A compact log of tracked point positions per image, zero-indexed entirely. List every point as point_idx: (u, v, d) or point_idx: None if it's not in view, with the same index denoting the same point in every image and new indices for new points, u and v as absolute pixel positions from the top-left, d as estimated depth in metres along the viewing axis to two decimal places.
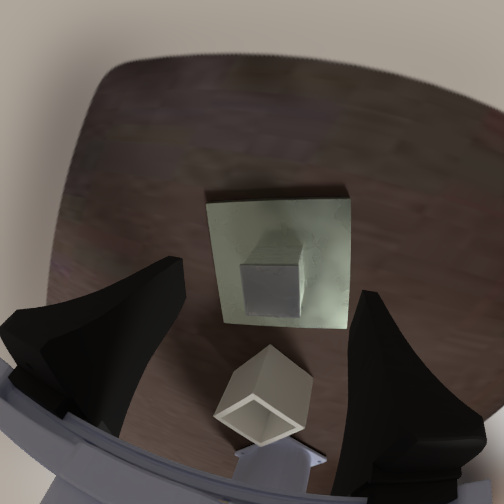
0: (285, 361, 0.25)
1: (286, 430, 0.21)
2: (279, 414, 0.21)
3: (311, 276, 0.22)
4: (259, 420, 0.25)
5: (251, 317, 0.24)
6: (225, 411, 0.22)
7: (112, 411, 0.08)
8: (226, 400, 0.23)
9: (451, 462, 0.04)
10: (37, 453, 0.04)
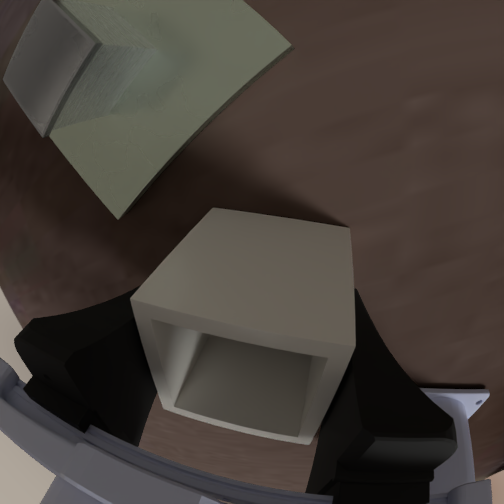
0: (256, 220, 0.11)
1: (318, 380, 0.07)
2: (241, 335, 0.07)
3: (149, 22, 0.08)
4: (285, 383, 0.11)
5: (134, 172, 0.11)
6: (159, 386, 0.09)
7: (133, 420, 0.08)
8: None
9: (420, 464, 0.04)
10: (37, 453, 0.04)
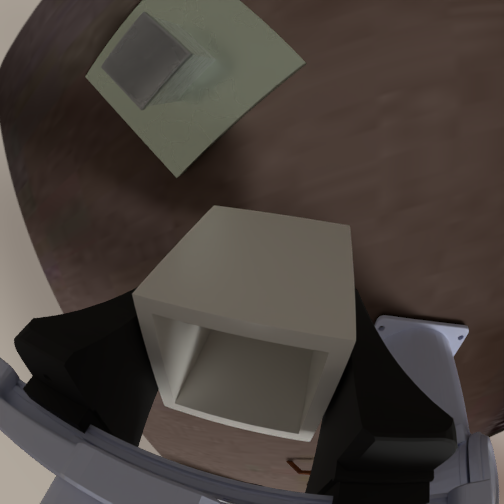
0: (257, 217, 0.11)
1: (319, 376, 0.07)
2: (243, 329, 0.07)
3: (209, 39, 0.13)
4: (286, 380, 0.11)
5: (194, 142, 0.16)
6: (160, 383, 0.09)
7: (133, 420, 0.08)
8: None
9: (420, 464, 0.04)
10: (37, 453, 0.04)
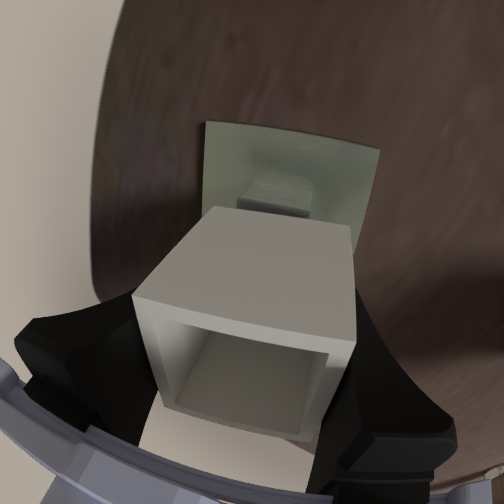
0: (257, 218, 0.11)
1: (319, 377, 0.07)
2: (243, 331, 0.07)
3: (294, 179, 0.17)
4: (286, 381, 0.11)
5: None
6: (160, 384, 0.09)
7: (133, 420, 0.08)
8: None
9: (420, 464, 0.04)
10: (37, 453, 0.04)
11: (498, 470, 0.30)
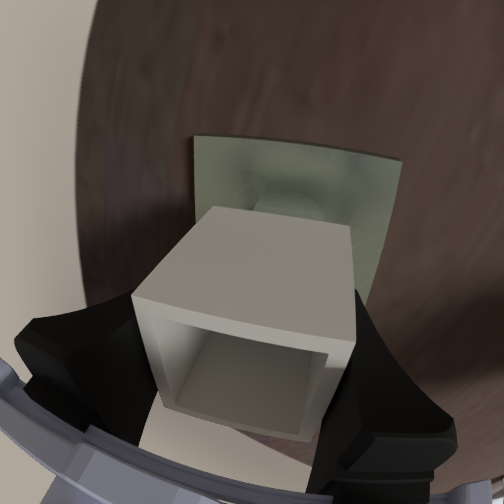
0: (257, 218, 0.11)
1: (319, 377, 0.07)
2: (242, 330, 0.07)
3: (301, 200, 0.14)
4: (286, 381, 0.11)
5: None
6: (160, 384, 0.09)
7: (133, 420, 0.08)
8: None
9: (420, 464, 0.04)
10: (37, 453, 0.04)
11: None
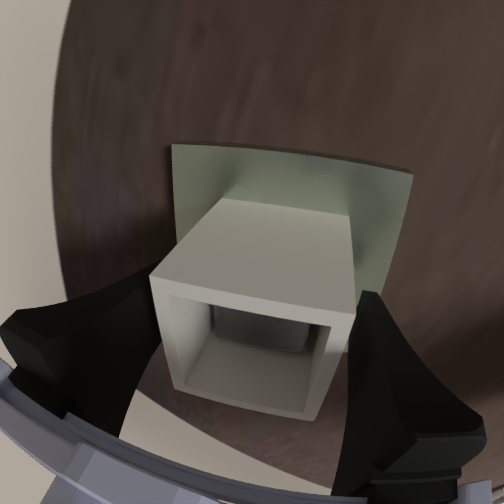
0: (262, 209, 0.12)
1: (322, 351, 0.08)
2: (252, 306, 0.07)
3: None
4: (290, 363, 0.11)
5: None
6: (171, 364, 0.10)
7: (112, 411, 0.08)
8: None
9: (451, 462, 0.04)
10: (37, 453, 0.04)
11: None
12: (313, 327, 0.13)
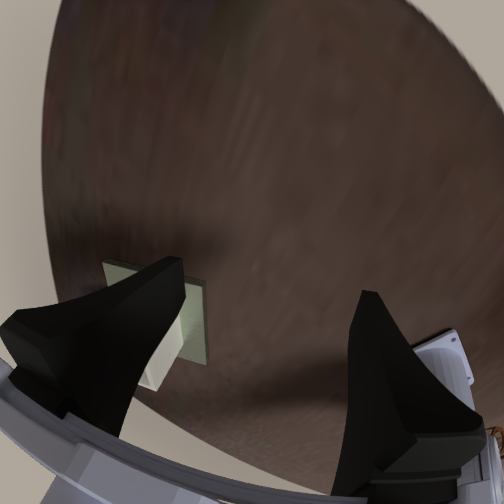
0: None
1: None
2: None
3: None
4: None
5: (198, 347, 0.28)
6: None
7: (112, 411, 0.08)
8: None
9: (451, 462, 0.04)
10: (37, 453, 0.04)
11: None
12: None
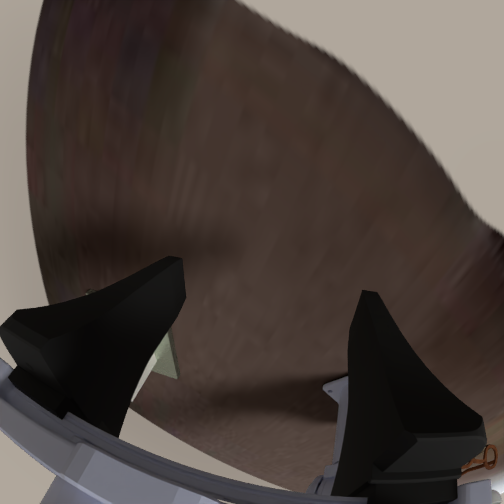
0: None
1: None
2: None
3: None
4: None
5: (168, 364, 0.31)
6: None
7: (112, 411, 0.08)
8: None
9: (451, 462, 0.04)
10: (37, 453, 0.04)
11: None
12: None
